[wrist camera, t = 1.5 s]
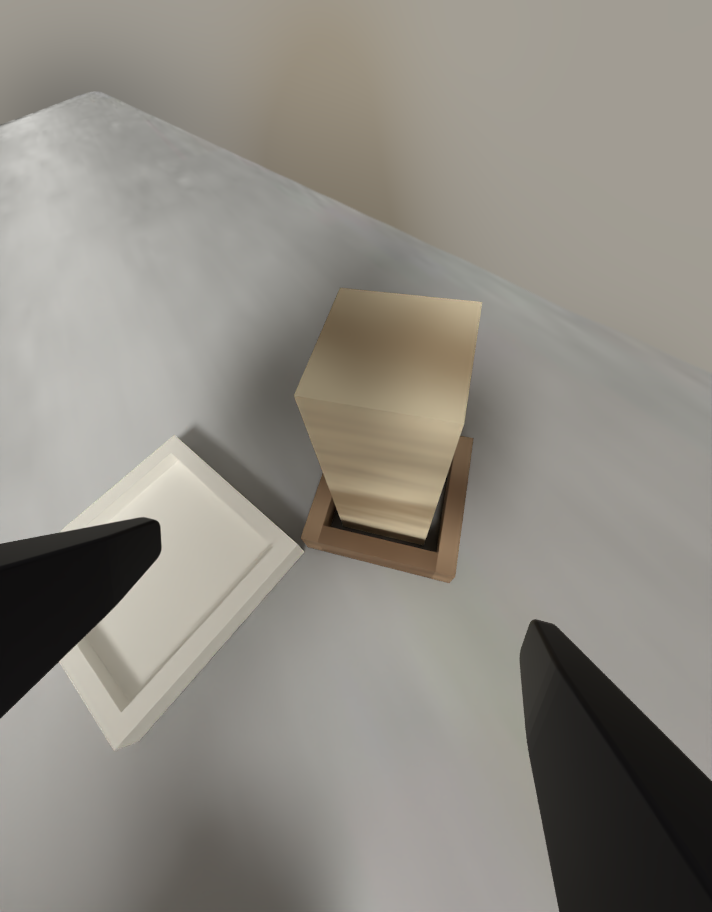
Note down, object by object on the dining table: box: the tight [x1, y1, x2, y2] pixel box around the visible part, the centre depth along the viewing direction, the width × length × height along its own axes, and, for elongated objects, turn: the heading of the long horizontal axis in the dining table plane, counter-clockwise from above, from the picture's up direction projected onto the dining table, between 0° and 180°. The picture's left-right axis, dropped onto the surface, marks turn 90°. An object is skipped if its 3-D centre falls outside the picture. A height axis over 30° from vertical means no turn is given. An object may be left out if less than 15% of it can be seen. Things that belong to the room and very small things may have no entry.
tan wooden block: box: [294, 288, 482, 546], centre depth 17 cm, size 5×5×13 cm
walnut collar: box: [301, 436, 473, 583], centre depth 22 cm, size 8×8×2 cm
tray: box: [59, 435, 304, 751], centre depth 21 cm, size 12×12×2 cm
